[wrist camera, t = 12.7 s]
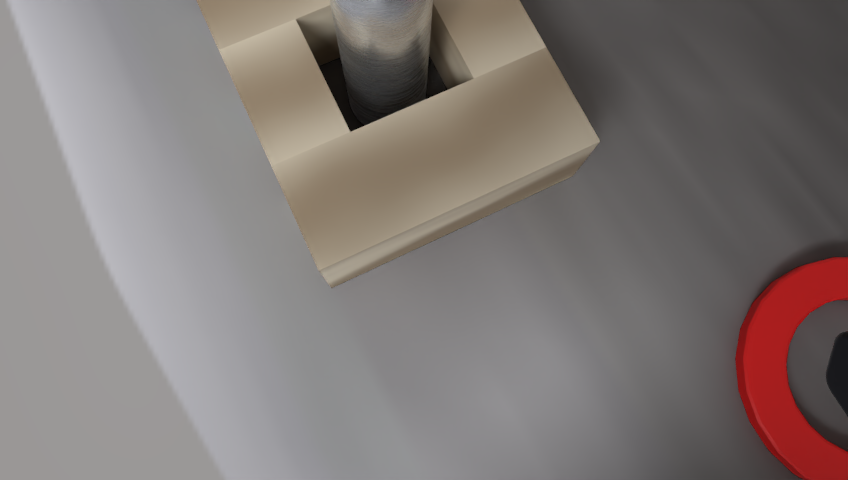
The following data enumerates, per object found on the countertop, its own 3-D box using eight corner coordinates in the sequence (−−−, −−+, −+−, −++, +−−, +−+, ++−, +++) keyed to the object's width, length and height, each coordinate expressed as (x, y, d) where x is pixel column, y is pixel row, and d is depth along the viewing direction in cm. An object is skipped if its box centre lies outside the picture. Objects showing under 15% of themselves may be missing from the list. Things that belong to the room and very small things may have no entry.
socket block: (572, 175, 24) (600, 141, 21) (331, 287, 23) (318, 270, 19) (434, -72, 26) (439, -140, 23) (209, 18, 25) (178, -40, 22)
